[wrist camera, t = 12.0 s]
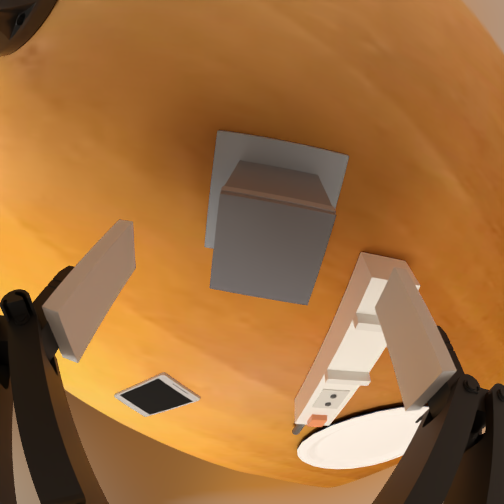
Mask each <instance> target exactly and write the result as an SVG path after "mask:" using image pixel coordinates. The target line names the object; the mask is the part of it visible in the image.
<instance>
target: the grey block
mask: <svg viewBox="0 0 504 504" xmlns="http://www.w3.org/2000/svg"><path fill="white" fill-rule="evenodd" d="M335 213H336V210H335V208H334V207H333V206H332V205H331V202H330V200H329V198H328V196H327V193H326V191H325V189H324V187H323V185H322V183H321V180H320V178H319V176H318V175H315V174H311V173H306V172H301V171H297V170H292V169H286V168H281V167H276V166H271V165H265V164H259V163H254V162H248V161H242V160H240V161H239V162H238V164H237V166H236V167H235V169H234V171H233V172H232V174H231V176H230V177H229V179H228V181H227V182H226V184H225V186H223V187H222V188H221V191H220V197H219V205H218V214H217V222H216V231H215V240H214V250H213V259H212V269H211V280H210V288H211V289H216V290H222V291H227V292H232V293H238V294H243V295H249V296H254V297H260V298H266V299H272V300H278V301H284V302H290V303H296V304H302V305H308V302H309V299H310V296H311V294H312V291H313V288H314V285H315V282H316V279H317V276H318V273H319V270H320V266H321V263H322V260H323V257H324V254H325V251H326V248H327V244H328V241H329V238H330V235H331V231H332V228H333V225H334V221H335V218H336V214H335Z"/></svg>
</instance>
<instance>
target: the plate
mask: <svg viewBox="0 0 504 504" xmlns="http://www.w3.org/2000/svg"><path fill="white" fill-rule="evenodd" d="M428 409H429V406H423V407H422V408H421V409H420V410H415V411H405V408H404V406H402V407H395V408H390V409H384V410H378V411H374V412H371V413H367V414H363V415H359V416H355V417H352V418H349V419H346V420H344V421H341V422H338V423H335V424H332V425H330V426H328V427H326V428H324V429H322V430H319V431H317V432H315V433H313V434H312V435H311V436H309V437H308V438H306V439H305V440H303V441H302V443H301V444H300V446H299V447H298V448H297V453H298V457H299V458H300V459H301V460H302V461H303V462H305V463H308V464H310V465H312V466H316V467H321V468H329V469H349V468H359V467H365V466H371V465H375V464H379V463H383V462H386V461H389V460H392V459H395V458H397V457H400V456H402V455H404V453H405V451H406V449H407V447H408V446H409V444H410V442H411V440H412V438H413V436H414V434H415V432H416V430H417V428H418V426H419V424H420V422H421V420H420V421H419V422H418V423H415V422H416V421H417V419H418V418H419V417H421V416H422V415H423V414H424V413H425V412H426V411H427V410H428Z"/></svg>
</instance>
